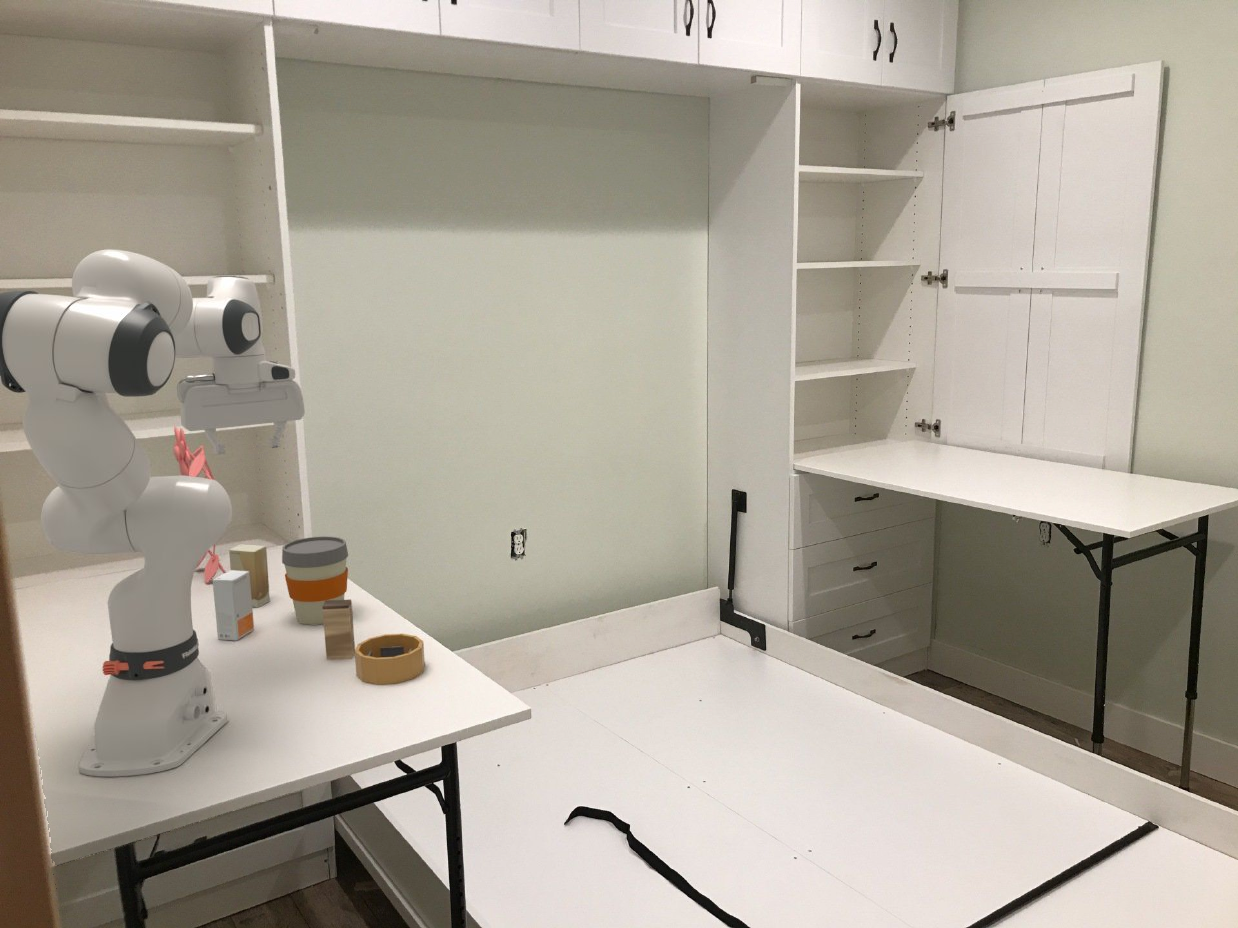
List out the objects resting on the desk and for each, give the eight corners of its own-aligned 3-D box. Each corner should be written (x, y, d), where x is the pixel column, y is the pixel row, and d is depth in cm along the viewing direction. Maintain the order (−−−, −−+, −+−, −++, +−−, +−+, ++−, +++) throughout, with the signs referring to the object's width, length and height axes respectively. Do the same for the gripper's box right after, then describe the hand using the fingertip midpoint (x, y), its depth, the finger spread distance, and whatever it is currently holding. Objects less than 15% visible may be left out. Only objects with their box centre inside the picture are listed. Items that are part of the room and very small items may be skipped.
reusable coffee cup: (329, 601, 205) (324, 532, 202) (365, 614, 197) (359, 542, 194) (275, 618, 196) (268, 546, 193) (310, 632, 188) (303, 557, 185)
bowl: (420, 682, 165) (418, 657, 164) (352, 685, 164) (350, 660, 163) (427, 656, 176) (425, 632, 175) (363, 659, 175) (361, 635, 174)
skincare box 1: (232, 605, 204) (226, 549, 201) (245, 599, 208) (239, 543, 206) (259, 607, 202) (254, 551, 200) (271, 600, 206) (266, 545, 204)
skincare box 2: (237, 641, 184) (231, 580, 182) (217, 639, 185) (211, 579, 183) (255, 629, 190) (250, 570, 188) (236, 628, 191) (230, 569, 189)
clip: (414, 673, 167) (413, 658, 166) (361, 676, 166) (360, 661, 166) (418, 658, 173) (417, 643, 173) (368, 660, 173) (367, 646, 172)
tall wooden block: (352, 658, 176) (348, 605, 174) (326, 659, 175) (322, 606, 173) (355, 651, 179) (351, 599, 176) (329, 652, 178) (325, 600, 176)
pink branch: (219, 558, 237) (201, 415, 229) (240, 587, 215) (221, 431, 208) (150, 571, 229) (128, 423, 222) (165, 602, 208) (141, 440, 200)
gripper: (179, 378, 161) (188, 460, 163) (304, 368, 172) (310, 446, 175) (171, 375, 166) (180, 455, 168) (292, 366, 177) (299, 441, 180)
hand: (247, 450), depth 172 cm, fingers open, 8 cm apart
